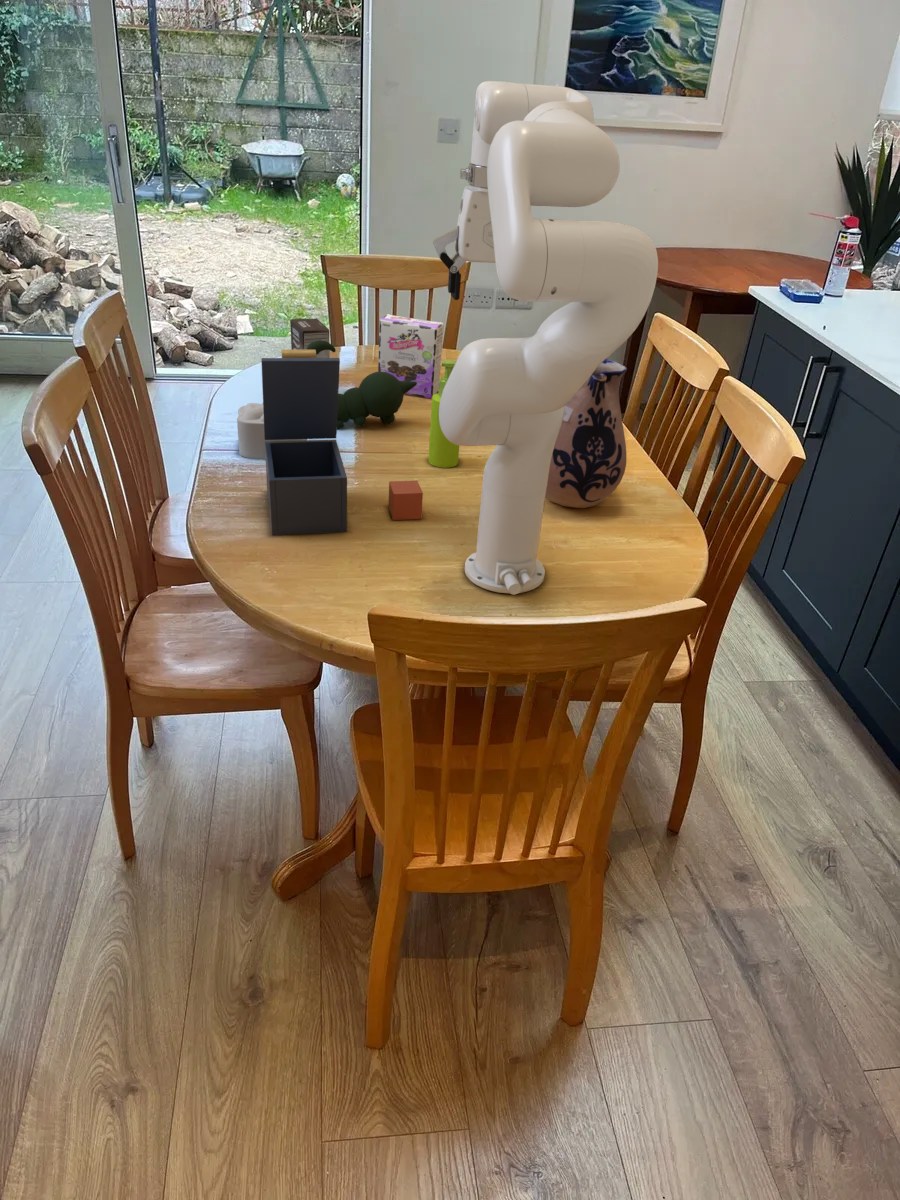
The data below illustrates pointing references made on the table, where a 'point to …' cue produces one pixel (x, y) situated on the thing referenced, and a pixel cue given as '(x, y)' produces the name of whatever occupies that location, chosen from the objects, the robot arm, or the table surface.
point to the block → (405, 500)
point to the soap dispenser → (439, 445)
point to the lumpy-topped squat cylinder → (252, 431)
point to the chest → (306, 487)
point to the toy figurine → (368, 395)
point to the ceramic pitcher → (590, 442)
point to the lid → (300, 396)
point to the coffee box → (309, 334)
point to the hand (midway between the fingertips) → (484, 298)
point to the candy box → (411, 352)
